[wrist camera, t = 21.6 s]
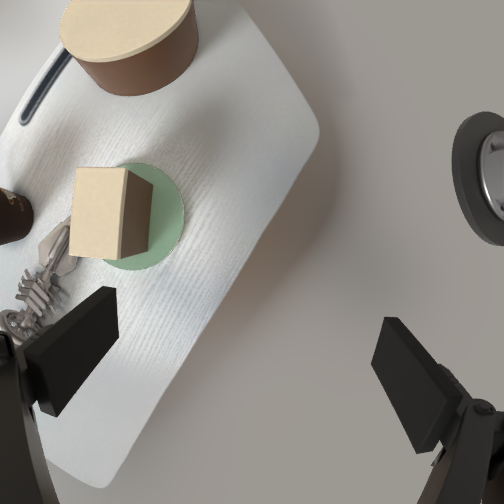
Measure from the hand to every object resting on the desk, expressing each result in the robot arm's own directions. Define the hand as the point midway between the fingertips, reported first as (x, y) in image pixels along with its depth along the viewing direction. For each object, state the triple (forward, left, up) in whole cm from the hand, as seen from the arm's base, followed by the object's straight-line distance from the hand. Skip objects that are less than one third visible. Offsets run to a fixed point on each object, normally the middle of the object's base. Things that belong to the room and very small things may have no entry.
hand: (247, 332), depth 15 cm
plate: (+11, -8, -24) cm, 28 cm away
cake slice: (+11, -8, -23) cm, 27 cm away
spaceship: (+30, +3, -25) cm, 39 cm away
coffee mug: (+30, -13, -25) cm, 41 cm away
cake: (+8, -32, -24) cm, 41 cm away
